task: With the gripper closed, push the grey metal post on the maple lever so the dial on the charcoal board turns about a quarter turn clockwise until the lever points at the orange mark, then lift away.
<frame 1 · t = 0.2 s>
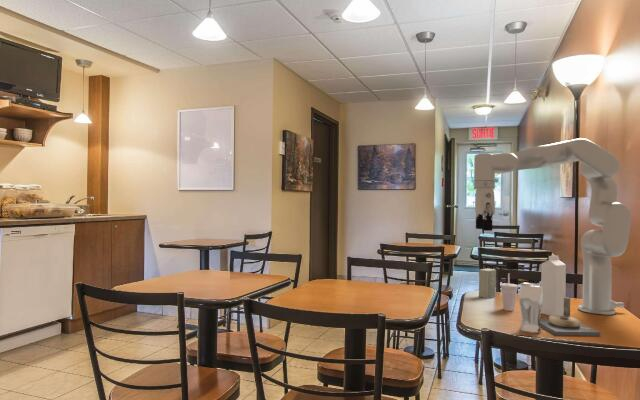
hand: (483, 229, 174), 31 cm above the table, tool pointing down, fingers open, 9 cm apart
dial: (563, 311, 150), point 5 cm above the table, hinge at 0.0°
smoothie: (508, 310, 174), on the table
skincare box: (487, 297, 197), on the table
board: (564, 328, 149), on the table
milk: (552, 314, 168), on the table
beer glass: (530, 331, 146), on the table
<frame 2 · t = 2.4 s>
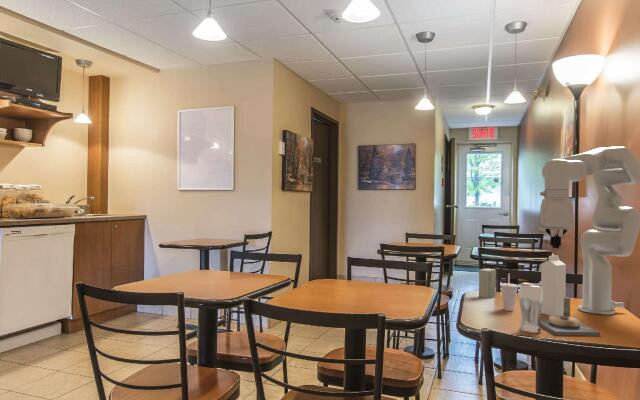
hand: (555, 247, 156), 26 cm above the table, tool pointing down, fingers closed
nothing on the table moved.
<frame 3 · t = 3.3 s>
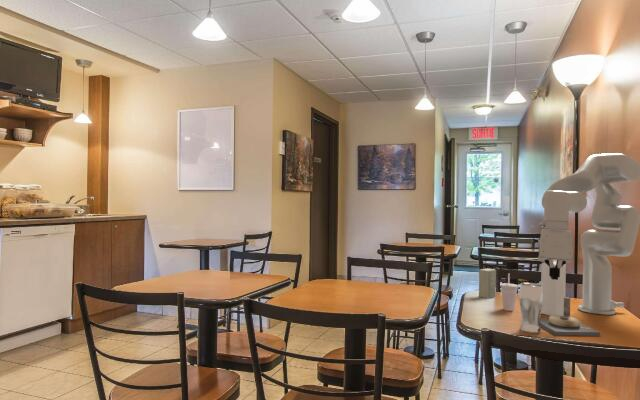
hand: (554, 279, 156), 15 cm above the table, tool pointing down, fingers closed
nothing on the table moved.
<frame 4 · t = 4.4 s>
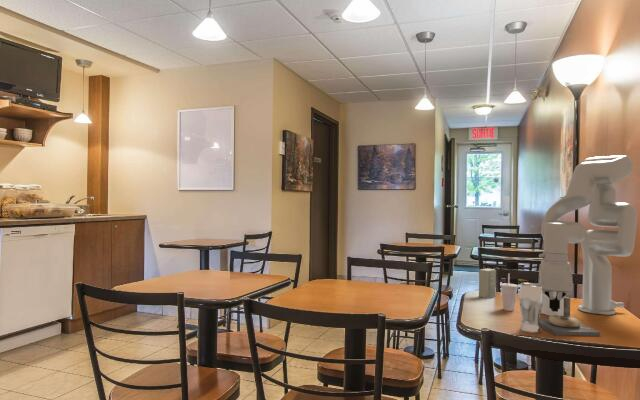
hand: (554, 310, 156), 4 cm above the table, tool pointing down, fingers closed
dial: (563, 311, 150), point 5 cm above the table, hinge at 0.0°, touching gripper
everything else where it was.
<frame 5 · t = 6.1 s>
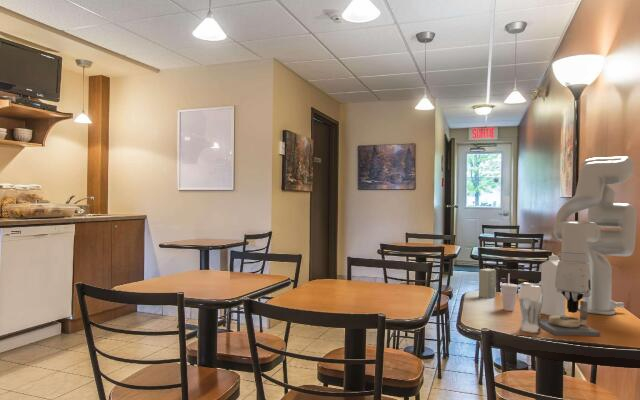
hand: (572, 311, 152), 5 cm above the table, tool pointing down, fingers closed
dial: (566, 312, 150), point 5 cm above the table, hinge at -54.1°, touching gripper
everything else where it was.
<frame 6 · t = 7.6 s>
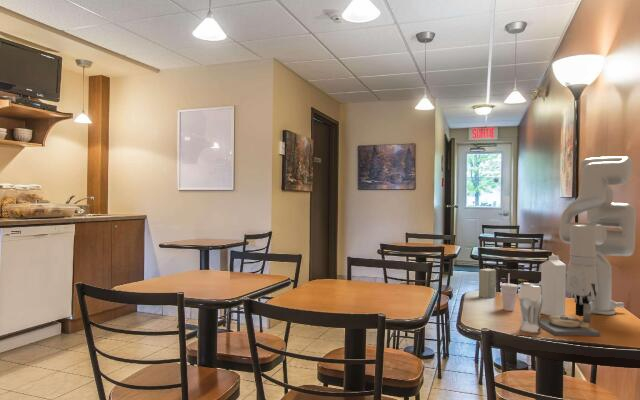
hand: (581, 315, 151), 4 cm above the table, tool pointing down, fingers closed
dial: (567, 312, 149), point 5 cm above the table, hinge at -90.2°
everything else where it was.
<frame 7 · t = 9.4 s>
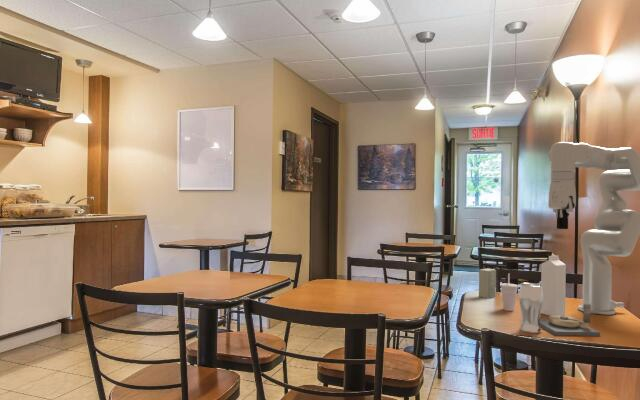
hand: (562, 228, 160), 33 cm above the table, tool pointing down, fingers closed
nothing on the table moved.
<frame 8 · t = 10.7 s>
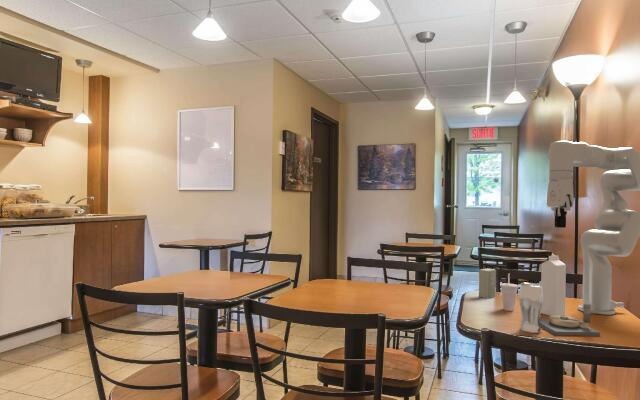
hand: (560, 227, 160), 33 cm above the table, tool pointing down, fingers closed
nothing on the table moved.
at the end: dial at -90° (first picture: +0°); beer glass moved 0.2 cm from its start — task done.
